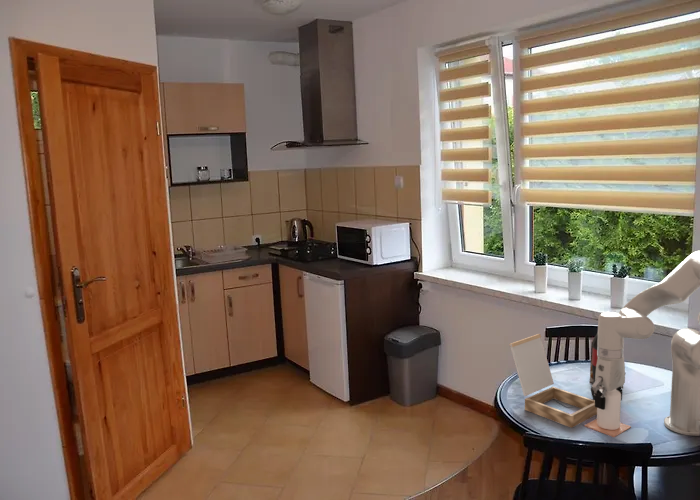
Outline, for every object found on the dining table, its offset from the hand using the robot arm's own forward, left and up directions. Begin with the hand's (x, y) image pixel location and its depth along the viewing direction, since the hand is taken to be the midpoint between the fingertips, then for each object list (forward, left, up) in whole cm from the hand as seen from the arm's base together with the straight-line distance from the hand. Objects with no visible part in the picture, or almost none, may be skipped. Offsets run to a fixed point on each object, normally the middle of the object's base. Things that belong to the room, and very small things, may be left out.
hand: (608, 403), depth 191 cm
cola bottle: (+12, -18, -8) cm, 23 cm away
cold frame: (+16, +1, -8) cm, 18 cm away
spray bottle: (0, 0, -7) cm, 8 cm away
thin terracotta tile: (0, 0, -8) cm, 8 cm away
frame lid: (+28, +1, +6) cm, 28 cm away
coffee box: (+21, -33, -8) cm, 40 cm away
